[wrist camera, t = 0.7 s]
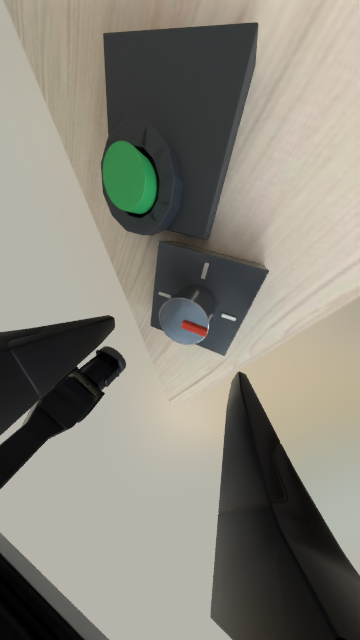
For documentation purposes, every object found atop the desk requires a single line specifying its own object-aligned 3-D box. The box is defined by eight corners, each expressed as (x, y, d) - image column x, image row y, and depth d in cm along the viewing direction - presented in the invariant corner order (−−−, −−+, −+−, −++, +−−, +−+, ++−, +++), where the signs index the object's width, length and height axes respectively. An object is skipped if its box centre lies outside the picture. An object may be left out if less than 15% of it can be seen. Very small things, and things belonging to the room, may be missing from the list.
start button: (120, 209, 13) (104, 206, 11) (118, 151, 11) (99, 137, 9) (155, 218, 12) (143, 215, 11) (160, 156, 10) (147, 143, 9)
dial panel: (160, 315, 21) (149, 326, 19) (171, 241, 16) (158, 241, 13) (226, 341, 19) (224, 357, 17) (264, 265, 14) (269, 271, 11)
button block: (126, 226, 17) (98, 223, 14) (125, 65, 11) (76, -7, 8) (206, 247, 15) (196, 249, 12) (255, 64, 9) (263, -35, 6)
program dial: (172, 315, 17) (154, 335, 13) (180, 278, 14) (160, 291, 11) (208, 329, 16) (199, 354, 12) (222, 292, 13) (216, 310, 10)
